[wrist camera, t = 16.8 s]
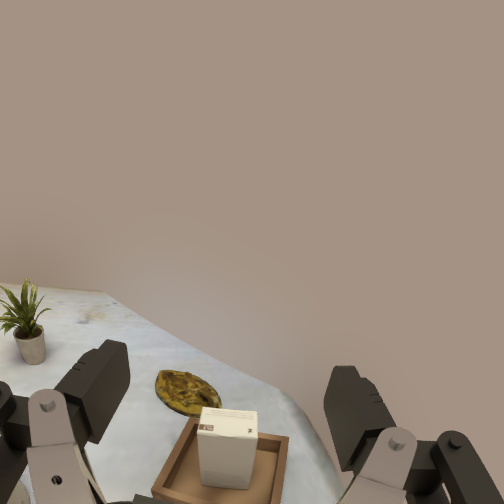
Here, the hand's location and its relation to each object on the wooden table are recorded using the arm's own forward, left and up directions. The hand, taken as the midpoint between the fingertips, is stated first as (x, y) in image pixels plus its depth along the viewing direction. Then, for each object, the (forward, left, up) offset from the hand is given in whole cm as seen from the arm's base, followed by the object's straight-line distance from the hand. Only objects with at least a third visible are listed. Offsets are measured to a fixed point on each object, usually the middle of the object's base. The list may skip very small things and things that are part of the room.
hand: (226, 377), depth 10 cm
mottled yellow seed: (-12, +27, -29) cm, 41 cm away
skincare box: (-2, +12, -28) cm, 30 cm away
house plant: (-46, +21, -28) cm, 58 cm away
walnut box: (-2, +12, -28) cm, 31 cm away
